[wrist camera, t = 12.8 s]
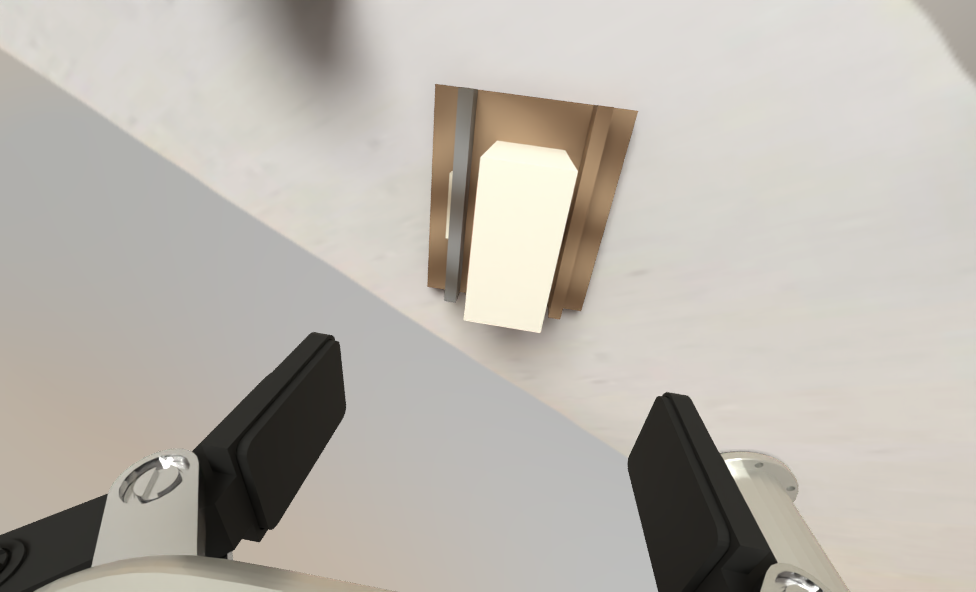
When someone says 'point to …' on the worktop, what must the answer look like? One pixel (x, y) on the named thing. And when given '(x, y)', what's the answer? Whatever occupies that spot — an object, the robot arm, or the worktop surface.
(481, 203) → the box
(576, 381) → the worktop surface
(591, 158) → the shelf
